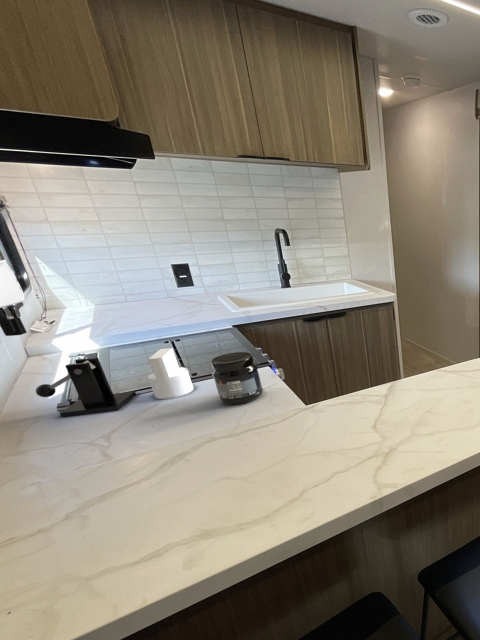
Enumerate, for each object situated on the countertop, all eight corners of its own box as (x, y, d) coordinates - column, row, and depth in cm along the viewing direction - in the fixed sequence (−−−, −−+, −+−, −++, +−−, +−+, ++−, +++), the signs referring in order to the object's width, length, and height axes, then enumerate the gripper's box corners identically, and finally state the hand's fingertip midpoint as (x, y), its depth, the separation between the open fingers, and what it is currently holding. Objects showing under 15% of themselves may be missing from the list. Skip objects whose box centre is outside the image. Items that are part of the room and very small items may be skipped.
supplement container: (250, 387, 119) (240, 348, 115) (271, 394, 115) (262, 355, 110) (212, 400, 111) (200, 360, 106) (234, 409, 106) (221, 367, 102)
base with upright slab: (161, 388, 119) (147, 350, 114) (197, 383, 122) (185, 346, 117) (149, 401, 111) (134, 360, 107) (188, 395, 114) (175, 356, 110)
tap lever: (41, 401, 103) (28, 392, 101) (50, 396, 106) (37, 386, 104) (91, 372, 104) (79, 362, 102) (99, 367, 107) (87, 357, 105)
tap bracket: (61, 417, 103) (38, 371, 98) (84, 401, 112) (65, 357, 107) (118, 410, 106) (99, 365, 101) (136, 394, 115) (120, 352, 110)
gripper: (-17, 254, 96) (19, 328, 103) (-76, 261, 83) (-30, 345, 90) (23, 253, 99) (56, 325, 106) (-28, 259, 85) (13, 341, 92)
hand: (16, 334), depth 98 cm, fingers closed
